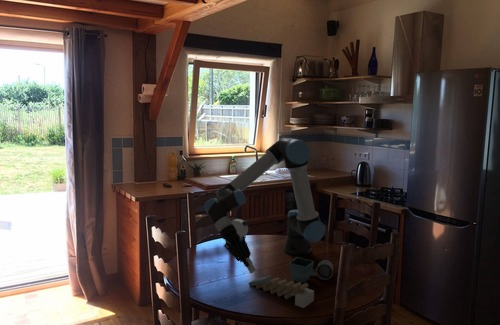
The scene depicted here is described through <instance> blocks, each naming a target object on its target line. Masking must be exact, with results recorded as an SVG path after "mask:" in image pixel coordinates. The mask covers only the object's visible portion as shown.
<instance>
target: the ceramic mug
mask: <svg viewBox="0 0 500 325" xmlns="http://www.w3.org/2000/svg"><path fill="white" fill-rule="evenodd" d="M333 275H334V265H333V263H332V262H331V261H330V260H328V259H323V260H321V261H320V262H318V264H317V266H316V268H313V270H312V274H311V276H310V277H315V276H317V278H319V279H320V280H324V281H327V280H330V279H331V278H332V276H333Z"/></svg>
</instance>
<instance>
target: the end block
mask: <svg viewBox="0 0 500 325" xmlns="http://www.w3.org/2000/svg"><path fill="white" fill-rule="evenodd" d="M314 301H315V290H313V289H310V288H308V287H307V288H305V289H304V290H302V291H300V292H298V293H297V294H295V295H294V306H297V307H300V308H302V309H304V308H306V307H307V306H309V305H310V304H312V303H314Z"/></svg>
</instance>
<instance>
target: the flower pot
mask: <svg viewBox="0 0 500 325" xmlns="http://www.w3.org/2000/svg"><path fill="white" fill-rule="evenodd" d="M314 264H315V262H314V261H313V260H310V259H306V258H303V257H295V258H294V259H292V260H291V261H290V262H289V263H288V265H289V267H288V268H289V274H290V277H291V279H292V281H294V282H296V283H299V282H300V283H301V284H305V283H307V281H308V280H309V279H310V277H312V276H311V274H312V270H314Z"/></svg>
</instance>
